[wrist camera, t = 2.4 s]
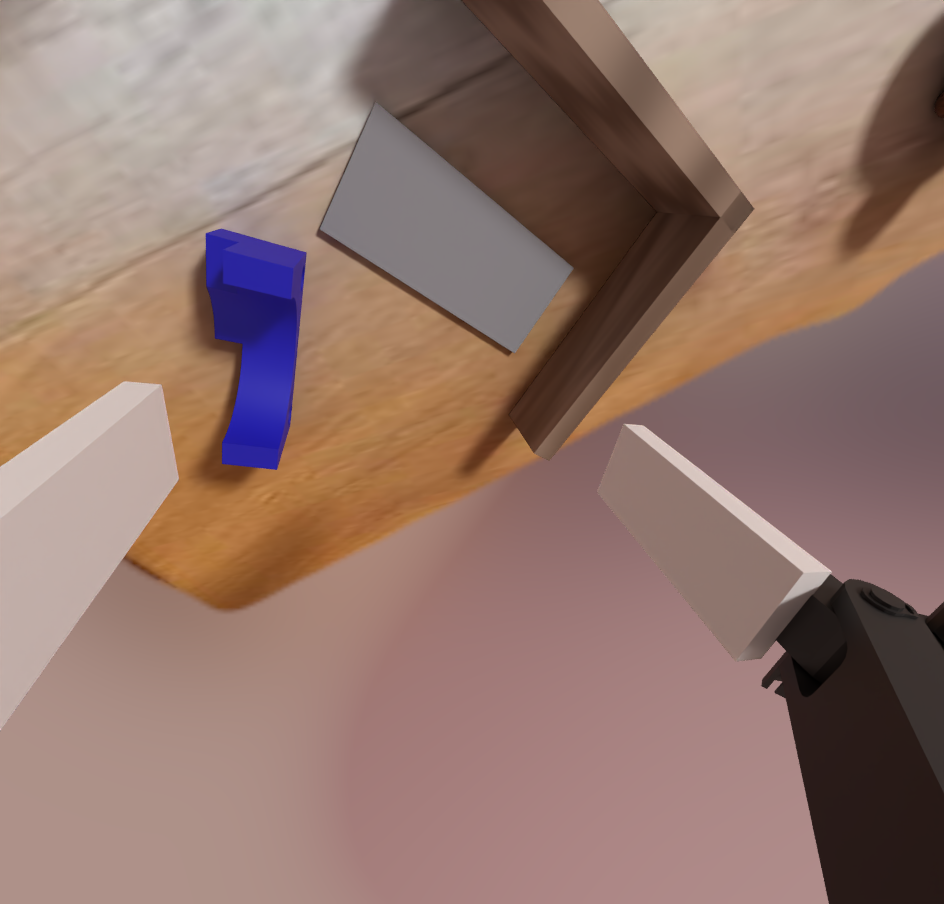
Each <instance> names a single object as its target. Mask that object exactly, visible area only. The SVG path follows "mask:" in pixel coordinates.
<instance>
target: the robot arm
mask: <svg viewBox="0 0 944 904" xmlns="http://www.w3.org/2000/svg"><path fill="white" fill-rule="evenodd" d="M178 480H179V477H178V472H177V466H176V461H175V455H174V450H173V444H172V439H171V433H170V428H169V423H168V417H167V412H166V406H165V401H164V395H163V390H162V385H160V384H148V383H136V382H122V383H121V384H119V385H118V386H117V387H115V388H114V389H112V390H111V391H109V392H108V393H106V394H105V395H104V396H102V397H101V398H99V399H98V400H96V401H95V402H93V403H92V404H91V405H89V406H88V407H86V408H85V409H83V410H82V411H80V412H79V413H78V414H76V415H75V416H73V417H72V418H70V419H69V420H67V421H66V422H65V423H63V424H62V425H60V426H59V427H57V428H56V429H54V430H53V431H51V432H50V433H49V434H47V435H46V436H44V437H43V438H41V439H40V440H38V441H37V442H36V443H34V444H33V445H31V446H30V447H28V448H27V449H25V450H24V451H23V452H21V453H20V454H18V455H17V456H15V457H14V458H12V459H11V460H10V461H8V462H7V463H5V464H4V465H2V466H1V467H0V731H1V729H2V728H3V726H4V725H5V724H6V722H7V721H8V719H9V718H10V717H11V715H12V714H13V712H14V711H15V710H16V708H17V707H18V705H19V704H20V702H21V701H22V700H23V698H24V697H25V695H26V694H27V693H28V691H29V690H30V688H31V687H32V686H33V684H34V683H35V681H36V680H37V679H38V677H39V676H40V674H41V673H42V671H43V670H44V669H45V667H46V666H47V664H48V663H49V662H50V660H51V659H52V657H53V656H54V655H55V653H56V652H57V650H58V649H59V647H60V646H61V645H62V643H63V642H64V640H65V639H66V638H67V636H68V635H69V633H70V632H71V630H72V629H73V628H74V626H75V625H76V623H77V622H78V621H79V619H80V618H81V617H82V615H83V614H84V612H85V611H86V610H87V608H88V607H89V605H90V604H91V602H92V601H93V600H94V598H95V597H96V595H97V594H98V593H99V591H100V590H101V588H102V587H103V586H104V584H105V583H106V581H107V580H108V578H109V577H110V576H111V574H112V573H113V571H114V570H115V569H116V567H117V566H118V564H119V563H120V562H121V560H122V559H123V557H124V556H125V555H126V553H127V552H128V550H129V549H130V548H131V546H132V545H133V543H134V542H135V540H136V539H137V538H138V536H139V535H140V533H141V532H142V531H143V529H144V528H145V526H146V525H147V524H148V522H149V521H150V519H151V518H152V517H153V515H154V514H155V512H156V511H157V510H158V508H159V507H160V505H161V504H162V502H163V501H164V500H165V498H166V497H167V495H168V494H169V493H170V491H171V490H172V488H173V487H174V486H175V484H176V483H177V481H178ZM597 493H598V494H599V495H600V496H601V497H602V499H603V500H604V501H605V502H606V504H607V505H608V506H609V507H610V508H611V510H612V511H613V512H614V514H615V515H616V516H617V517H618V518H619V519H620V521H621V522H622V523H623V525H624V526H625V527H626V528H627V529H628V531H629V532H630V533H631V534H632V536H633V537H634V538H635V539H636V540H637V542H638V543H639V544H640V545H641V547H642V548H643V549H644V550H645V551H646V553H647V554H648V555H649V556H650V558H651V559H652V560H653V561H654V562H655V564H656V565H657V566H658V567H659V568H660V570H661V571H662V572H663V573H664V575H665V576H666V577H667V578H668V579H669V581H670V582H671V583H672V584H673V586H674V587H675V588H676V589H677V590H678V592H679V593H680V594H681V595H682V596H683V598H684V599H685V600H686V602H687V603H688V604H689V605H690V606H691V608H692V609H693V610H694V611H695V612H696V614H697V615H698V616H699V617H700V619H701V620H702V621H703V622H704V624H705V625H706V626H707V627H708V629H709V630H710V631H711V632H712V633H713V635H714V636H715V637H716V638H717V639H718V641H719V642H720V643H721V644H722V646H723V647H724V648H725V649H726V650H727V651H728V653H729V654H730V655H731V657H732V658H733V659H734V660H735V661H745V660H752V659H761V658H762V657H763V656H764V654H765V653H766V652H767V651H768V650H769V649H770V647H771V646H772V645H773V644H774V642H775V641H777V642H778V643H779V644H780V645H781V646H782V647H783V648H784V649H785V650H786V652H785V653H784V654H783V655H782V657H781V658H780V659H779V660H778V661H777V663H776V664H775V665H774V666H773V667H772V668H771V670H770V671H769V672H768V673H767V675H766V676H765V677H764V678H763V680H762V687H764V688H766V689H767V688H768V687H769V686H770V685H771V684H772V682H773V681H774V680H778V681H782V683H781V684H780V686H779V687H778V688H777V689H776V690H775V693H776V694H778V695H780V696H782V697H784V698H786V702H787V706H788V711H789V716H790V721H791V725H792V730H793V735H794V740H795V744H796V749H797V754H798V759H799V763H800V768H801V773H802V778H803V782H804V787H805V791H806V797H807V801H808V806H809V810H810V815H811V820H812V825H813V830H814V835H815V839H816V844H817V849H818V854H819V858H820V863H821V868H822V872H823V877H824V882H825V887H826V891H827V896H828V901H829V904H944V602H943V603H942V604H941V605H940V606H939V607H938V608H937V609H936V610H935V611H934V612H933V613H932V614H931V615H930V616H925V615H921V614H918V613H917V612H916V611H915V610H914V608H913V607H912V606H910V605H908V604H907V603H905V602H904V601H902V600H901V599H899V598H898V597H896V596H895V595H893V594H892V593H890V592H888V591H886V590H884V589H882V588H880V587H878V586H875V585H873V584H871V583H868V582H864V581H861V580H854V579H849V580H847V581H846V582H844V583H841V582H840V581H839V580H837V579H836V578H835V577H834V576H832V575H831V574H830V573H831V572H832V571H830V570H829V569H828V568H826V567H825V566H824V565H822V564H821V563H820V562H819V561H817V560H816V559H815V558H814V557H812V556H811V555H810V554H808V553H807V552H806V551H804V550H803V549H802V548H801V547H799V546H798V545H797V544H795V543H794V542H793V541H792V540H790V539H789V538H788V537H786V536H785V535H784V534H783V533H781V532H780V531H779V530H777V529H776V528H775V527H774V526H772V525H771V524H770V523H768V522H767V521H766V520H764V519H763V518H762V517H760V516H759V515H758V514H757V513H755V512H754V511H753V510H752V509H750V508H749V507H748V506H746V505H745V504H744V503H743V502H741V501H740V500H739V499H737V498H736V497H735V496H734V495H732V494H731V493H730V492H728V491H727V490H726V489H724V488H723V487H722V486H721V485H719V484H718V483H717V482H715V481H714V480H713V479H712V478H710V477H709V476H707V475H706V474H705V473H704V472H702V471H701V470H700V469H699V468H697V467H696V466H695V465H693V464H692V463H691V462H690V461H688V460H687V459H686V458H685V457H683V456H682V455H681V454H679V453H678V452H677V451H675V450H674V449H673V448H672V447H670V446H669V445H668V444H666V443H665V442H664V441H663V440H661V439H660V438H659V437H657V436H656V435H655V434H653V433H652V432H651V431H650V430H648V429H647V428H646V427H644V426H643V425H631V424H624V425H623V427H622V430H621V432H620V435H619V437H618V440H617V442H616V445H615V447H614V450H613V452H612V455H611V457H610V460H609V463H608V465H607V468H606V470H605V473H604V475H603V478H602V480H601V483H600V485H599V488H598V491H597Z"/></svg>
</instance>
